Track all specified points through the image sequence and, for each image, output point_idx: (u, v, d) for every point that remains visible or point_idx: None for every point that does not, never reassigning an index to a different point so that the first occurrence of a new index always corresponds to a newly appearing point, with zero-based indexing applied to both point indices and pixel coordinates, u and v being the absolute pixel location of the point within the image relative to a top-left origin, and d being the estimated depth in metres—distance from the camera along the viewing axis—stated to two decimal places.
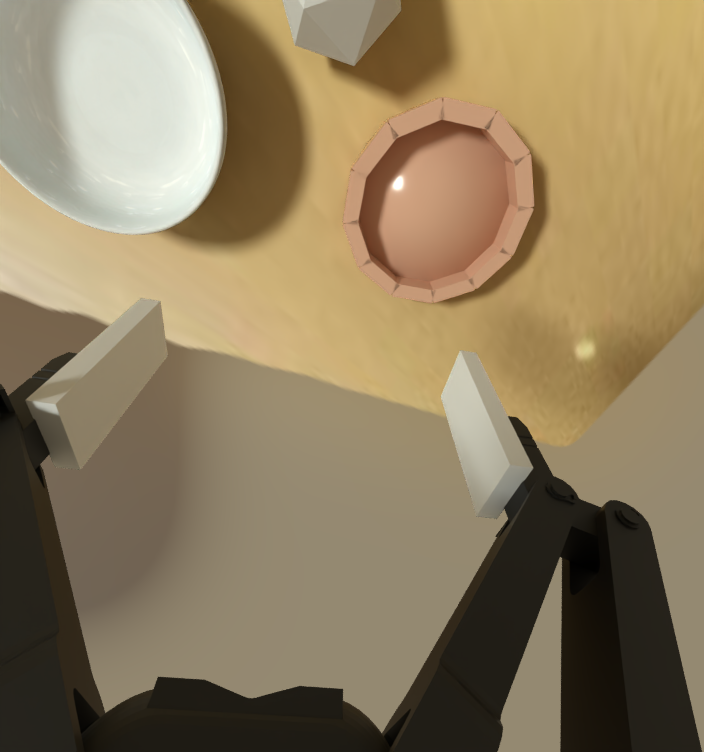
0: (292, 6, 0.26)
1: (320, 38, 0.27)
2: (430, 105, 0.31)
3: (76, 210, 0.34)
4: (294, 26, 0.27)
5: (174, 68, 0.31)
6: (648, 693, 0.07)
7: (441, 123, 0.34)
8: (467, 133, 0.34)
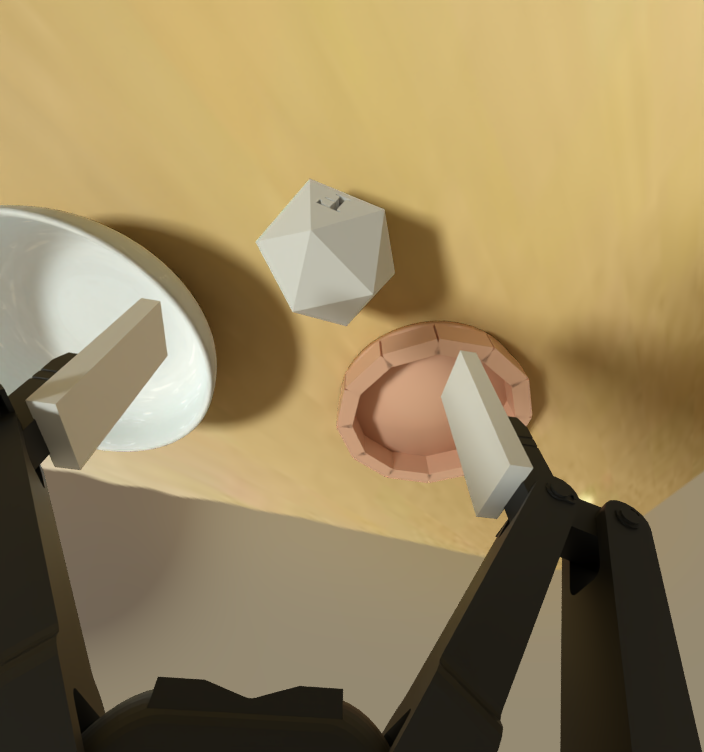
0: None
1: None
2: (425, 344, 0.30)
3: None
4: None
5: (162, 302, 0.31)
6: (648, 693, 0.07)
7: None
8: None
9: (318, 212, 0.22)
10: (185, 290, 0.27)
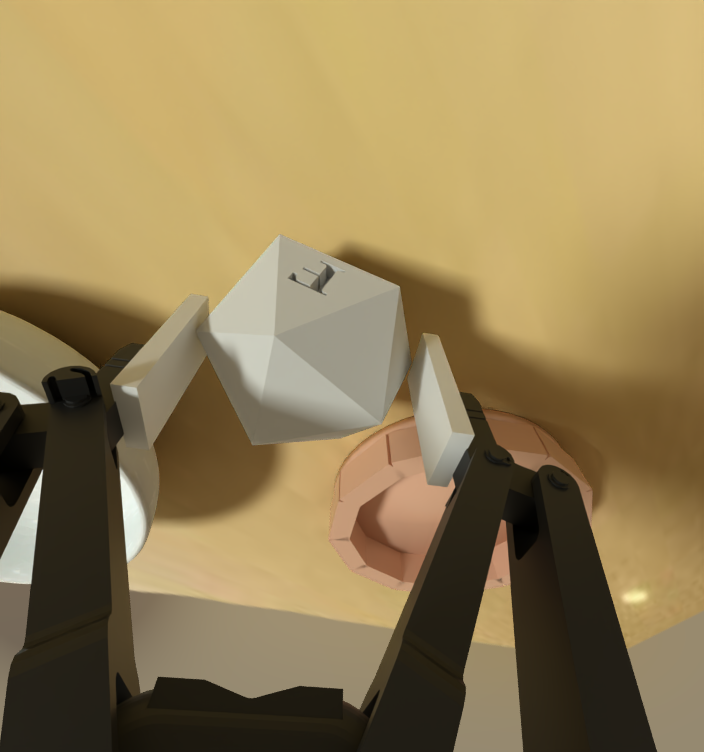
0: None
1: None
2: None
3: None
4: None
5: None
6: (590, 643, 0.07)
7: None
8: None
9: (290, 297, 0.13)
10: None
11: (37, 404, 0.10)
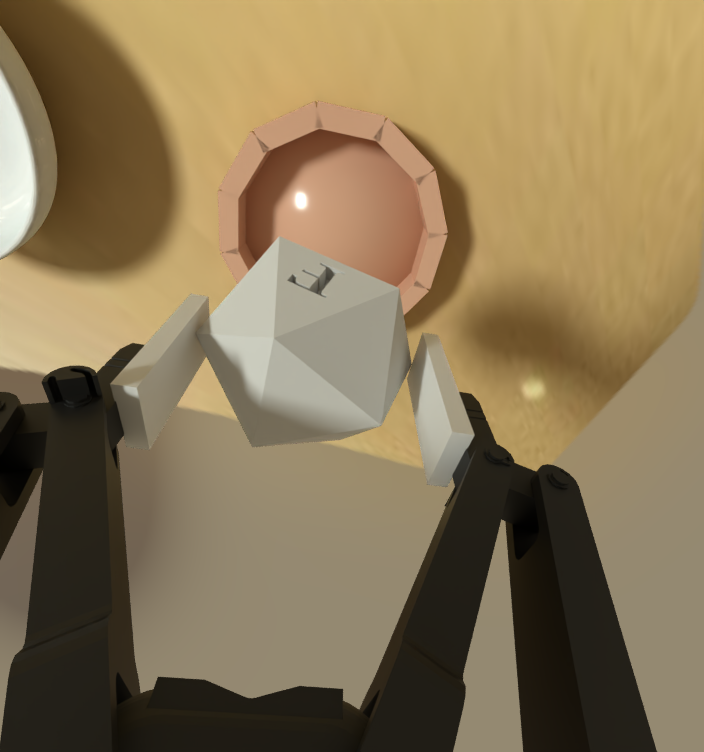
0: None
1: None
2: (302, 111, 0.25)
3: None
4: None
5: None
6: (589, 643, 0.07)
7: (329, 132, 0.28)
8: (362, 144, 0.28)
9: (289, 300, 0.13)
10: None
11: (37, 404, 0.10)
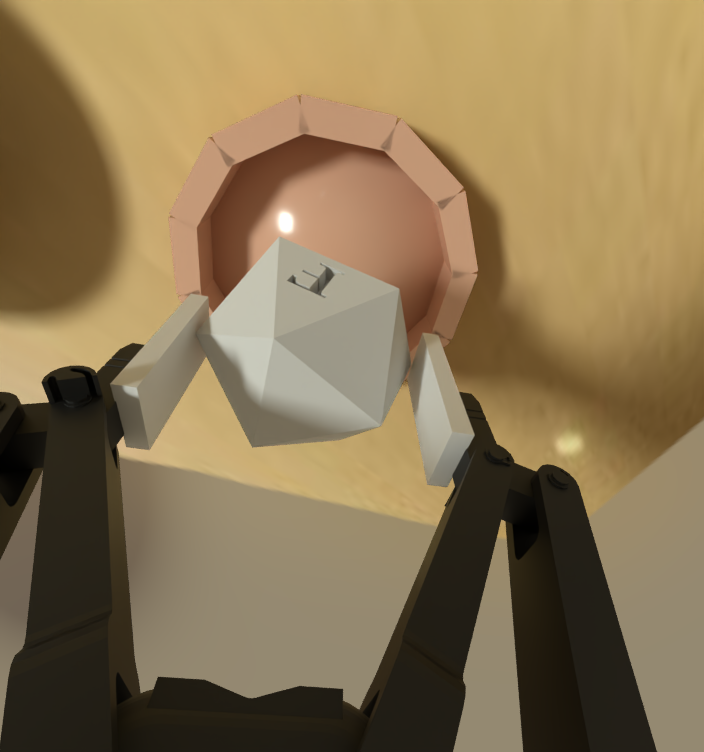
0: None
1: None
2: (279, 109, 0.17)
3: None
4: None
5: None
6: (590, 643, 0.07)
7: (319, 138, 0.20)
8: (364, 154, 0.21)
9: (289, 300, 0.13)
10: None
11: (37, 404, 0.10)
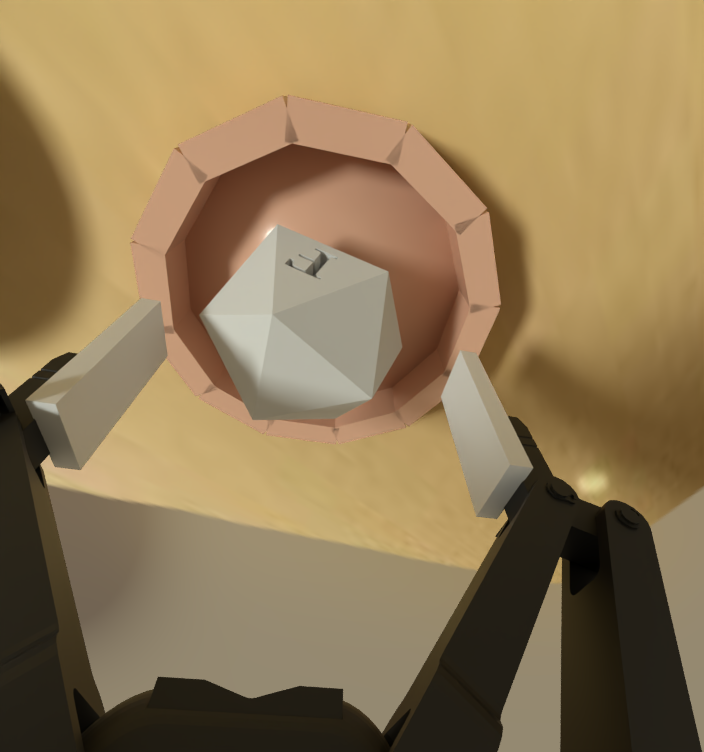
0: None
1: None
2: (260, 113, 0.14)
3: None
4: None
5: None
6: (648, 693, 0.07)
7: (312, 148, 0.17)
8: (365, 167, 0.17)
9: (286, 281, 0.14)
10: None
11: None
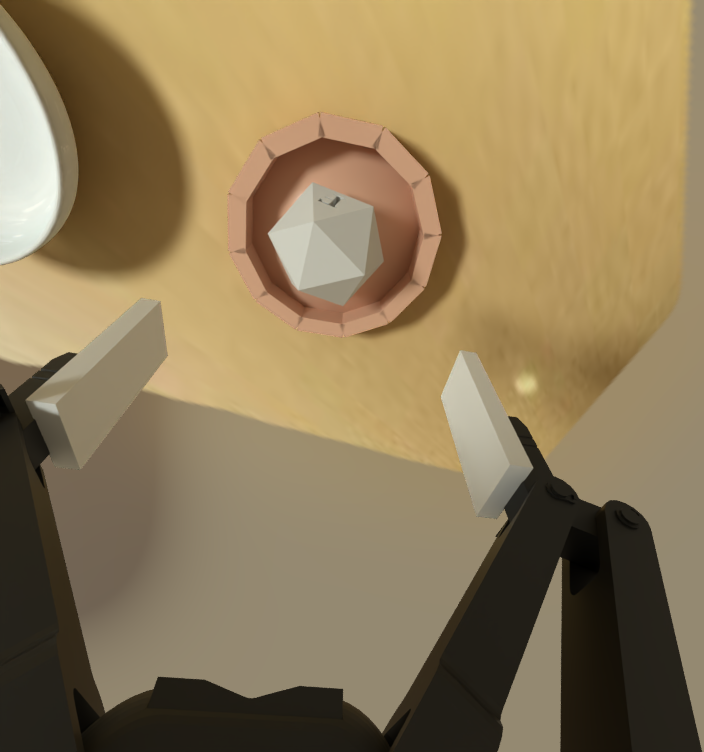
0: (289, 274, 0.30)
1: None
2: (306, 121, 0.27)
3: None
4: (290, 280, 0.32)
5: (14, 79, 0.27)
6: (648, 693, 0.07)
7: (331, 141, 0.30)
8: (361, 152, 0.30)
9: (319, 208, 0.27)
10: (15, 25, 0.23)
11: None
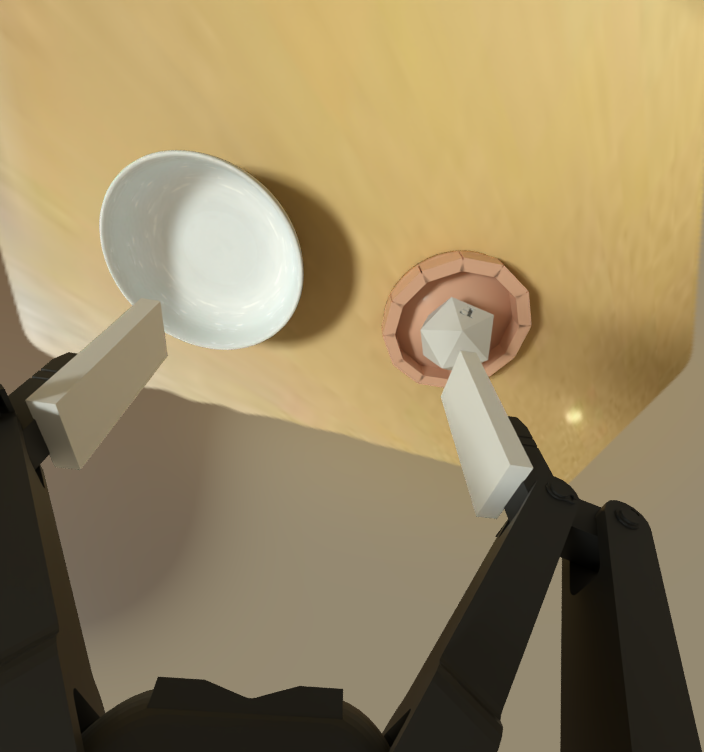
0: (431, 355, 0.45)
1: None
2: (453, 262, 0.41)
3: (182, 332, 0.44)
4: (428, 356, 0.46)
5: (261, 233, 0.42)
6: (648, 693, 0.07)
7: None
8: None
9: (462, 319, 0.41)
10: None
11: None
